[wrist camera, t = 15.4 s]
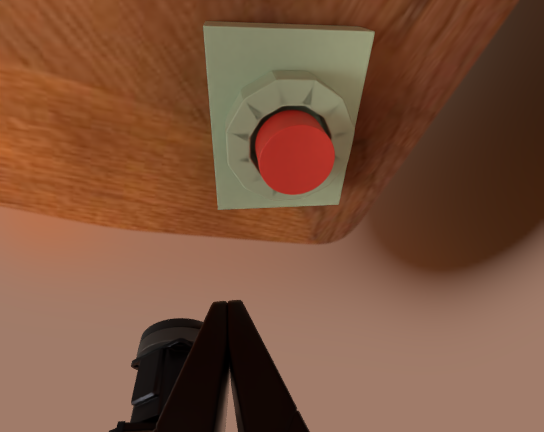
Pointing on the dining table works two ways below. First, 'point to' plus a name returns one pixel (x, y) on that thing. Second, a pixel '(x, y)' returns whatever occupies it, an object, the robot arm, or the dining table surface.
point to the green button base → (280, 99)
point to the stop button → (293, 152)
